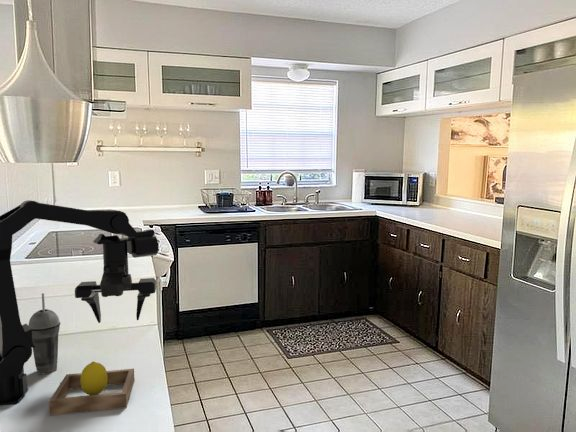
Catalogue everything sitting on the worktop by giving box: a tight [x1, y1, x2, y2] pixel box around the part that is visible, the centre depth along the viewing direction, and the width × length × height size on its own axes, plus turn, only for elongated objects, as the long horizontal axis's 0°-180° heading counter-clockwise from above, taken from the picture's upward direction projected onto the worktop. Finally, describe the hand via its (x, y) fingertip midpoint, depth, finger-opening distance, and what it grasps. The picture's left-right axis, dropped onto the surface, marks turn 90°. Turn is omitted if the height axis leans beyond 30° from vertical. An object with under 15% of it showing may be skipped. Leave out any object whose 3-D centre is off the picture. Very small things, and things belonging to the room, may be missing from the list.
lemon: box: [80, 361, 108, 395], centre depth 102 cm, size 6×6×8 cm
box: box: [48, 368, 136, 416], centre depth 102 cm, size 15×13×3 cm
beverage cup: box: [27, 293, 61, 375], centre depth 116 cm, size 7×7×20 cm
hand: (118, 321), depth 117 cm, fingers open, 9 cm apart
